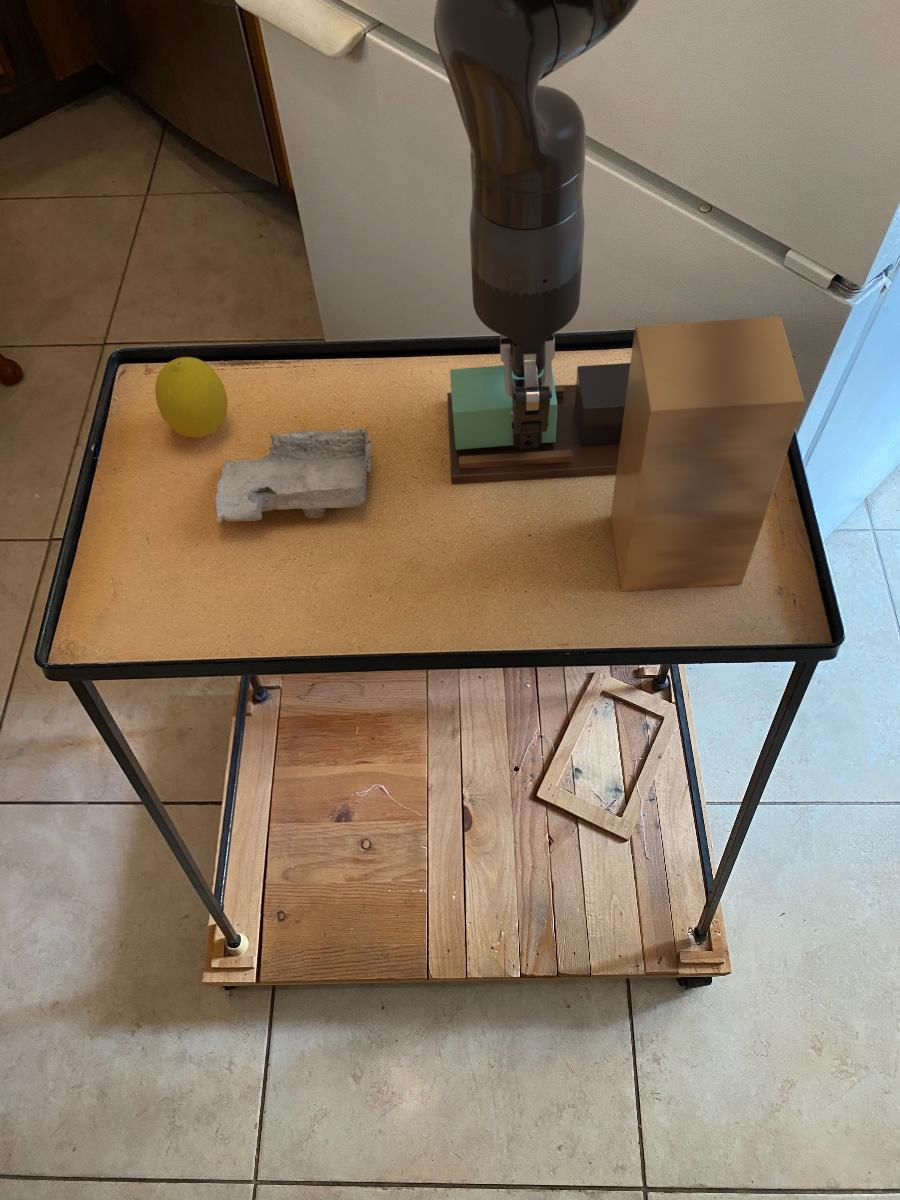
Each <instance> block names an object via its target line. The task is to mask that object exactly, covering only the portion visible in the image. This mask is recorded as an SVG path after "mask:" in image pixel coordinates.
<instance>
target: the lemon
mask: <svg viewBox="0 0 900 1200" xmlns="http://www.w3.org/2000/svg"><path fill="white" fill-rule="evenodd" d="M154 391H155V400H156V405H157V407H158V410H159V413H160V415H161V417H162V418H163V420H164V421H165V423H166V424H167V425H168V426H169V428H171V429H172V430H173V431H175V432H176V433H177V434H180V435H182V436H185V437H188V438H202V437H203V438H204V437H207V436H209V435H211V434H212V433H214V432H215V431H217V430H218V429H219V428H220V427H221V426H222V424H223V423H224V421H225V418H226V416H227V412H228V403H229V401H228V396H227V391H226V388H225V385H224V383H223V381H222V380H221V378H220V377H219V375H218V374H217V372H216V371H215V369H213V367H212V366H211V365H209V364H208V363H206V362H205V361H203V360H202V359H199V358H197V357H193V356H192V357H191V356H182V357H178V358H175V359H172V360H171V361H169V362H167V363H166V364H164V366H163V367H162V368H161V369H160V371H159V372H158V374H157V378H156V380H155V390H154Z"/></svg>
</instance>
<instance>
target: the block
mask: <svg viewBox="0 0 900 1200" xmlns="http://www.w3.org/2000/svg"><path fill="white" fill-rule="evenodd" d="M511 366H512V365H511ZM542 374H543V370H542V372H541V374H540V375H539V376H538V378H539V377H541V376H542ZM449 376H450V377H449V378H450V393H451V394H452V409H453V422H454V434H455V446H456V450H458V449H472V448H485V447H498V446H511V445H514V443H513V429H512V422H513V420H512V417H511V416H510V410H512V398H511V397H509V396H507V395H506V392H505V384H504V364H502V365H491V366H477V367H466V368H465V367H462V368H451V369H449ZM512 377H513V378H514V379H524V378H519V377H516V376H515V375H514V374H513V370H512ZM555 385H556V384H555V378H554V372H553V363H552V362H551V392H552V398H550V407H549V416H548V427H547V432H542V443H551V442H555V441H556V419H557V400H556V392H555Z"/></svg>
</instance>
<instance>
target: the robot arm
mask: <svg viewBox="0 0 900 1200" xmlns="http://www.w3.org/2000/svg"><path fill="white" fill-rule="evenodd" d="M639 1H640V0H436V2H435V7H434V15H433V26H434V27H433V33H434V38H435V44H436V47H437V51H438V54H439V57H440V60H441V63H442V65H443V68H444V71H445V73H446V76H447V79H448V81H449V84H450V87H451V90H452V92H453V96H454V99H455V103H456V105H457V108H458V112H459V115H460V117H461V121H462V124H463V127H464V129H465V132H466V133H465V134H466V135H467V139H468V141H469V146H470V176H471V177H470V178H471V209H470V215H469V216H470V217H469V242H470V243H469V244H470V265H471V267H470V268H471V288H472V303H473V309H474V312H475V314H476V316H477V317H478V319H479V320H480V322H481V323H482V324H483V325H484V326H485V327H486V328H488V329H489V330H491V331H492V332H494V333H496V334H499V335H500V336H499V352H500V353H499V355H500V361H501V362H502V363H503V365H504V384H505V392H506V395H507V396H509V397H511V398H512V410H510V416H511V417H512V420H513V422H512V429H513V443H514V447H515V448H516V449H529V448H538V447H540V446H541V443H542V432H547V427H548V416H549V407H550V398H552V392H551V363H552V361H553V360H554V359H555V356H556V352H555V351H556V339H555V338H556V337H555V333H557V332H559V331H560V330H562V329H563V328H565V327H566V326H567V325H568V324H569V323H570V322H571V321H572V320H573V319H574V317H575V315H576V314H577V312H578V309H579V306H580V301H581V286H582V271H583V258H584V257H583V255H584V243H585V242H584V241H585V224H586V223H585V211H584V209H585V208H584V180H585V165H586V149H587V148H586V147H587V132H586V123H585V117H584V115H583V112H582V110H581V107H580V106H579V104H578V103H577V102H576V101H575V100H574V98H572V96H570V95H569V94H567V93H566V92H564V91H562V90H560V89H558V88H555V87H551V86H547V85H539V83H540V81H542V80H543V79H545V78H546V77H548V76H550V75H551V74H552V73H554V72H557V70H559V69H561V68H563V67H564V66H565V65H567V64H568V63H570V62H572V61H573V60H575V59H577V58H579V57H580V56H582V55H583V54H585V53H586V52H588V51H590V50H591V49H592V48H594V47H595V46H597V45H598V44H599V43H600V42H602V41H603V40H604V39H605V38H607V36H609V35H610V34H611V33H612V32H613V31H614V30H615V29H617V28H618V27H619V26H620V25H621V24H622V22H623V21H625V19H626V18H627V17H628V16H629V15H630V13H631V12H632V11H633V10H634V8H635V7H636V6H637V4H638V3H639ZM511 365H512V366H511ZM512 370H513V374H514V375H515V376H516V377H519V378H524V379H514V378H513V377H512ZM542 370H543V374H542V376H541V377H539V378H538V376H539V375H540V374H541V372H542Z"/></svg>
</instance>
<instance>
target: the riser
mask: <svg viewBox="0 0 900 1200" xmlns="http://www.w3.org/2000/svg"><path fill="white" fill-rule="evenodd" d="M786 333H787V332H786V330H785V326H784V323H783V319H782V317H781V316H766V317H754V318H753V317H752V318H749V317H748V318H736V319H723V320H722V319H721V320H719V319H718V320H707V321H706V320H704V321H703V320H702V321H689V322H677V323H661V324H660V323H659V324H645V325H644V324H643V325H635V326H634V334H633V340H632V348H631V356H630V362H629V363H630V371H629V378H628V386H627V394H626V401H625V409H624V417H623V424H622V432H621V440H620V447H619V455H618V463H617V470H616V474H615V479H614V487H613V492H612V493H613V494H612V502H611V508H610V509H611V510H610V522H611V530H612V536H613V543H614V549H615V556H616V557H615V558H616V563H617V571H618V577H619V578H618V579H619V585H620V590H621V592H630V591H645V590H648V591H649V590H663V589H678V588H679V589H680V588H695V587H696V588H697V587H699V588H700V587H711V586H712V587H714V586H730V585H732V586H733V585H742V584H743V582H744V579H745V577H746V573H747V570H748V568H749V565H750V563H751V559H752V556H753V553H754V551H755V547H756V545H757V541H758V539H759V536H760V532H761V530H762V527H763V525H764V521H765V518H766V516H767V513H768V509H769V507H770V504H771V501H772V498H773V495H774V493H775V489H776V486H777V484H778V480H779V478H780V474H781V471H782V469H783V466H784V462H785V460H786V457H787V454H788V451H789V448H790V445H791V443H792V440H793V436H794V434H795V430H796V428H797V425H798V423H799V419H800V416H801V413H802V411H803V407H804V404H805V403H806V402H805V397H804V393H803V390H802V387H801V383H800V379H799V376H798V372H797V368H796V365H795V361H794V359H793V354H792V351H791V348H790V343H789V340H788V337H787V334H786Z"/></svg>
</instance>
